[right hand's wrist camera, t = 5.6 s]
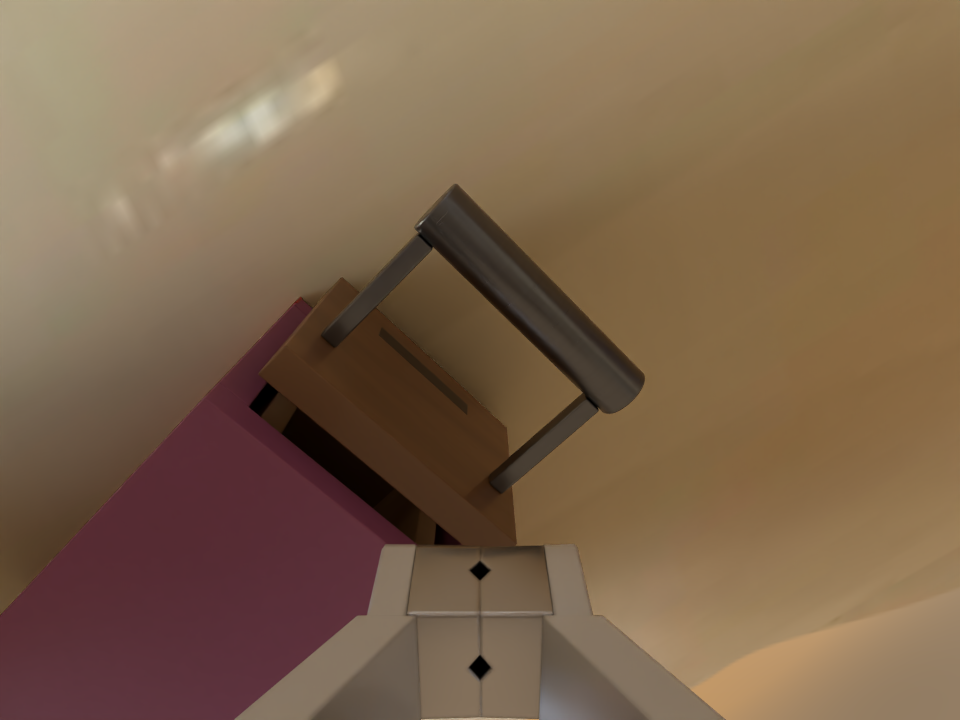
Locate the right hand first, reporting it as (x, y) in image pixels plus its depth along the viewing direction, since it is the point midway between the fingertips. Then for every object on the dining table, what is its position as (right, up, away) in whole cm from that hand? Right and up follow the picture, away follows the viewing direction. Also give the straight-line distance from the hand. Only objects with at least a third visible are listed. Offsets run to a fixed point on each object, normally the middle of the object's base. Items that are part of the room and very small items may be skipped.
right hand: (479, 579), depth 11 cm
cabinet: (-11, -4, +20) cm, 23 cm away
